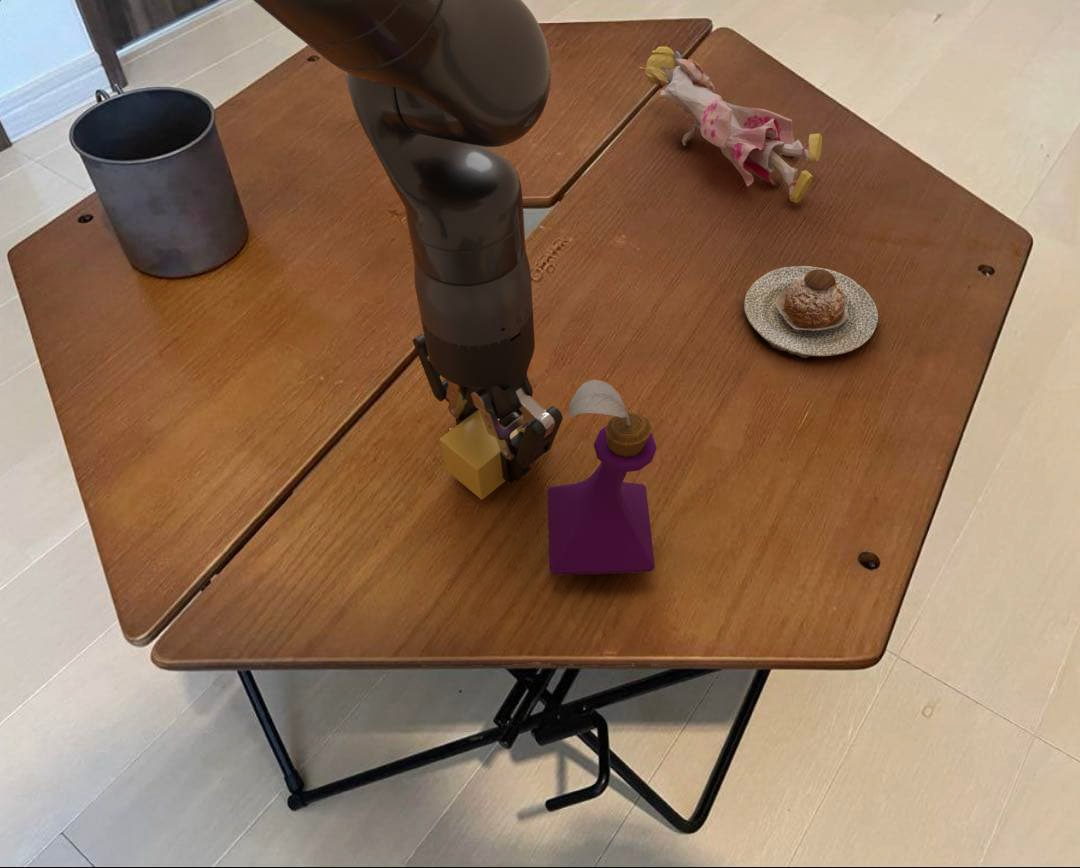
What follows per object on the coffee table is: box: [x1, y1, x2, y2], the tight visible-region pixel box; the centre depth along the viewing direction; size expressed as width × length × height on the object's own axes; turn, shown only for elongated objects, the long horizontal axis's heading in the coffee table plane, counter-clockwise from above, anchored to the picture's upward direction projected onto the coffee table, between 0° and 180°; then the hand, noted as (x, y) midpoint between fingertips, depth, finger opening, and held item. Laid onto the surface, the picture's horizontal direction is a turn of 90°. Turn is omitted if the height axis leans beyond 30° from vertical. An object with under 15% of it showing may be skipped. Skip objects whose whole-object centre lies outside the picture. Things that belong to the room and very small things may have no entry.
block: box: [439, 409, 518, 501], centre depth 72 cm, size 7×4×4 cm, turn 135°
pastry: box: [743, 265, 879, 359], centre depth 82 cm, size 12×12×5 cm
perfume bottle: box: [546, 379, 657, 576], centre depth 62 cm, size 8×8×18 cm
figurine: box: [638, 46, 823, 204], centre depth 96 cm, size 12×12×25 cm
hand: (494, 457), depth 73 cm, fingers closed on block, 4 cm apart
